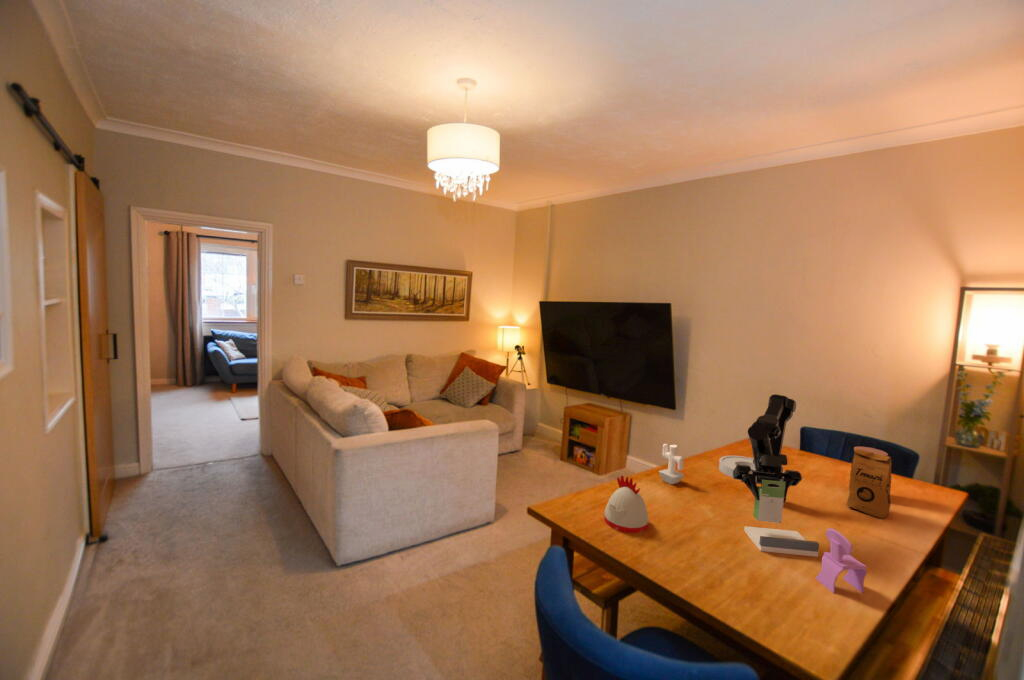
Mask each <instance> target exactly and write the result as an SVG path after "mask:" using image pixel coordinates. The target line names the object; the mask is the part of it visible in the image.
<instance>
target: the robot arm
mask: <svg viewBox="0 0 1024 680" xmlns="http://www.w3.org/2000/svg"><path fill="white" fill-rule="evenodd" d="M796 408H797V402H796V401H795V400H794V399H792V398H789V397H788V396H786V395H782V394H776V393H775V394H771V395H770V396H769V398H768V403H767V408H766V410H765V412H764V414H763V415H760V416H758V417H757V419H756V421H754V422H753V423H752V424H751V426H749V428H748V429H747V436H748V438H749V439H748V440H749V442H750V444H751V450H752V455H753V456H752V458H754V459H753V463H754V464H755V470H752V469H751V468H750V466H748V465H737V466H736V467H735V469H734V471H733V478H732V479H734V480H738V481H741V483H744V484H745V486H747V488H748V489H749V490H750V492H751V494H752V495H753V497H754V498H756V499H757V500H759V493H758V489H757V486H758V485H757V484H758V483H761V485H760V487H762V480H770V481H783V482H785V491H784V502H783V504H785V503H786V499H787V494H788V488H790V487H791V486H792V487H794V486H796V487H797V485H798V484H800V482H801V481H802V480H803V477H802V473H801V472H799V471H798V470H792V469H791V470H790V469H786V470H785V471H784V467H783V466H787V465H788V456H787V454H783V453H782V451H783V444H784V439H785V434H786V433H785V431H786V427H787V423H788V422H789V421H790V420H791V419H792V418H793V415H794V413H795V412H796ZM756 477H757V483H756ZM767 486H768V487H780V485H777V484H774V483H773V484H768V485H767Z"/></svg>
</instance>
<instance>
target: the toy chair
mask: <svg viewBox="0 0 1024 680" xmlns="http://www.w3.org/2000/svg"><path fill="white" fill-rule="evenodd" d="M825 535H826V538H827V540H828V541H829V543H830V552H829V551H823V555H822V558H821V569H820V572H819V573H818V574H817V575H816V577H815V580H817V581H818V582H819V583H820V584H821V585H823V586H824V587H825V588H826V589H827V590H828V591H829V592H831V593H832V594H835V592H836V590H835V588H836V580H837V578H838V577H839V575H840V574H842V572H843V571H846V570H847V572H846V574H845V575H844V577H842V579H843V580H844V581H845V582H847V583H848V584H849V585H851V587H853V588H855V589H856V590H858V592H859V593H861V594H864V592H865V591H864V587H865V586H864V585H865V584H864V582H865V578H866V575H867V573H868V570H867V565H865V564H864V563H862V562H860V561H859V560H858V559H856V558H855V557H854V556H852V555H851V554H852V553H853V545H852V543H851V541H850V540H849V539H847V537H845V536H844V535H843V534H842V533H841V532H839V531H838V530H836V529H835V528H830V527H829V528H827V529H826V532H825Z"/></svg>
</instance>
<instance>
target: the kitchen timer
mask: <svg viewBox="0 0 1024 680" xmlns="http://www.w3.org/2000/svg"><path fill="white" fill-rule="evenodd" d="M616 480H617V485H618V487H619V488H618V489H616V490H615V491H613V493H612V494H611V496H610V497H609V500H608V502H607V504H606V507H605V510H604V516H603V517H604V518H603V520H604V522H605V524H607V526H609V527H610V528H611V529H614V530H616V531H619V532H624V533H631V534H635V533H636V534H637V533H642V532H644V531H646V530H647V529H648V527H649V516H648V515H649V514H648V510H647V506H646V503H645V500H644V499H643V497H642V495H641V494H640V493H639V492H640V491H641V487H640V488H638V489H636V487H637V484H638V483H637V482H635V483H633V478H632V477H631V478H630V479H629V476H626V477H625V478H624V475H620V477H616Z"/></svg>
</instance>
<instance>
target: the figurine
mask: <svg viewBox="0 0 1024 680" xmlns="http://www.w3.org/2000/svg"><path fill="white" fill-rule="evenodd" d="M678 452H679V451H678V445H677V444H670V445H669V444H668V443H663V445H662V454H661V455H662V457H663V458H664V459H667V460H668V466H667V468H665V469H662V470H658V474H659V476H660V478H661V480H662V482H665V483H667V484H670V485H675V484H679V483H680V482H681V480H682V479H683V477H684V476H685V474H684V473H682V472H679V471H683V469H684V458H683V456H680V455H678ZM676 466H677V467H676ZM676 468H677V470H676Z"/></svg>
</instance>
